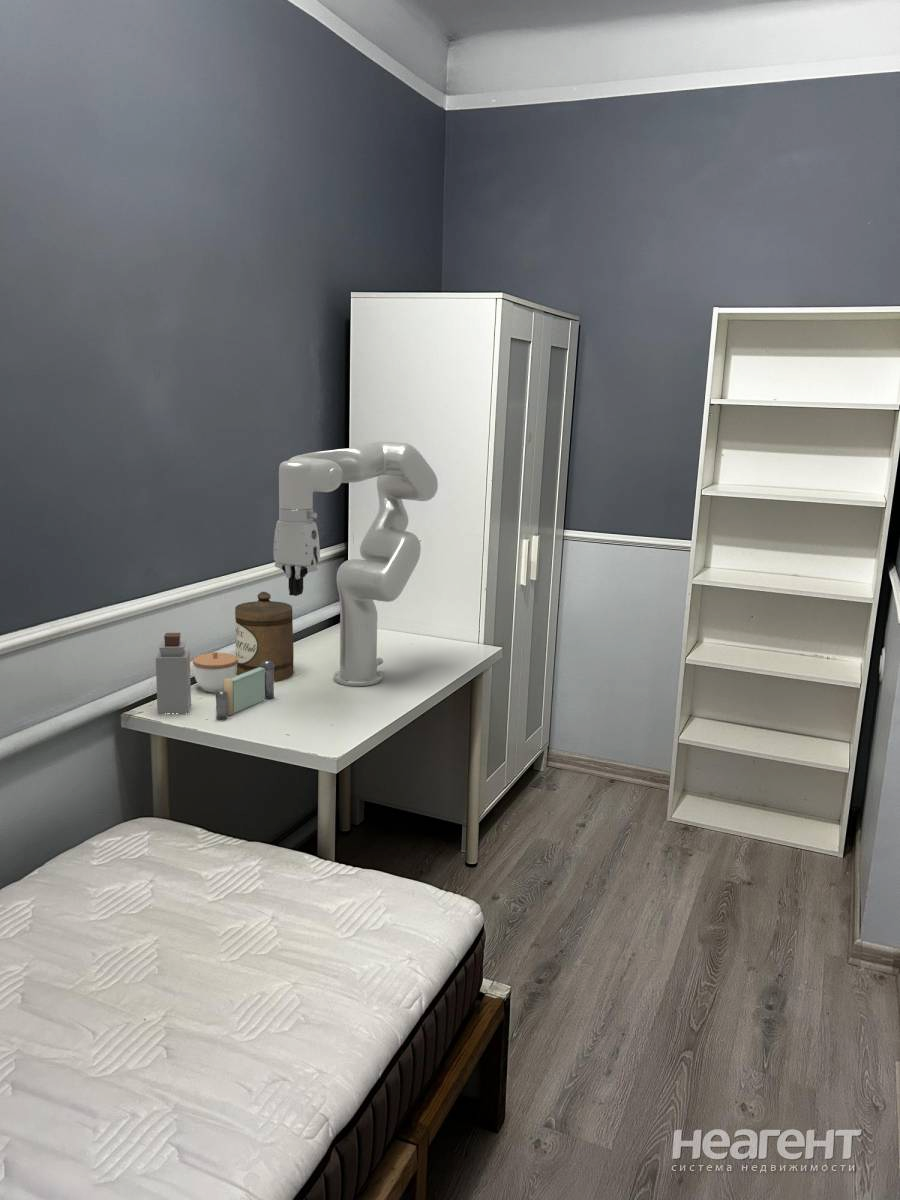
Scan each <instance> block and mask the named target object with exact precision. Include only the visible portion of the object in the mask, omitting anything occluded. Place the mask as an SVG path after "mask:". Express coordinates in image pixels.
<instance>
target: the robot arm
mask: <svg viewBox="0 0 900 1200" xmlns="http://www.w3.org/2000/svg"><path fill="white" fill-rule="evenodd" d="M437 477H438V476H437V475H436V472H435V471H434V469H433V467H431V465H430V464H429V463H428V461H427V460H426V459H425V457H424V456H423V455H422V454H421V453H420V451H419V450H418V449H417V448H415V447H414V446H413V445H412V444H409V443H407V442H406V443H405V442H394V441H381V440H380V441H373V442H368V443H366V444H362V445H357V446H353V447H349V448H338V449H332V450H323V451H314V452H313V451H312V452H308V453H303V454H298V455H294V456H293V457H291V458H290V459H288V460H284V461H282V462H281V463H280V464H279V468H278V504H279V505H278V506H279V507H278V516H279V517H278V520H277V521H276V526H275V530H274V537H273V538H274V539H273V560H274V562H275V563H274V566H275V568H277V569H280V570H282V571H283V572H284V574H285V577H286V578H287V579H288V592H289V594H288V595H289V596H295V597H297V596H300V595H303V592H304V578H306V576H307V574H308V573H314V572H316V571H318V565H317V564H319V563H320V561H321V560H320V559H321V552H320V551H321V550H320V549H321V548H320V539H319V538H320V537H319V531H318V530H319V529H318V526H317V522H315V521H314V519H315V520H316V519H317V518H318V513H317V512H315V511H314V509H313V508H314V507H313V504H314V503H313V498H314V497H313V496H314V495H313V494H314V492H319V493H331V492H333V491H335V490H337V489H338V488H339V487H340V485H341V484H349V483H350V484H351V483H359V482H363V481H366V480H367V481H368V480H369V479H373V478H376V488H377V489H376V490H377V495H378V504H379V505H378V512H377V514H376V517H375V518H374V520H373V522H372V523H371V525H370V527H369V528H368V530H367V531H366V534H365V535H364V538H363V539H362V541H361V543H360V547H359V552H360V556H361V557H362V559H360V558H359V559H358V558H356V559H355V558H354V559H348V560H345V561H344V562H342V563H341V564H340V566H339V567H338V569H337V572H336V586H337V591H338V596H339V597H338V598H339V606H340V608H339V609H340V619H339V621H340V622H339V670H337V671H336V672H334V673H333V680H334V681H335V682H336V683H338V684H341V685H345V686H349V687H365V686H366V687H367V686H374V685H377V684H378V683H380V682H381V681H382V680H383V674H382V672H381V671H378V666H381V665H383V663H384V660H383V658H382V657H377V655H378V652H377V651H378V618H379V617H378V611H377V607H376V605H375V602H374V601H378V602H384V603H389V602H393V601H395V600H397V599H398V598H399V597H400V595H401V594H402V592H403V590H404V589H405V587H406V585H407V583H408V582H409V579H410V578H411V576H412V574H413V572H414V570H415V568H416V567H417V564H418V563H419V560H420V556H421V551H422V550H421V549H422V548H421V541H420V538H418V536H417V535H416V534H414V532H413V533H412V532H410V531H407V530H406V529H407V528H408V525H409V516H408V512H407V510H406V508H405V505H404V503H403V500H409V501H417V502H427V501H430V500H432V499H433V498H434V497H435V496H436V494H437V493H438V487H439V485H438V484H439V482H438V478H437Z"/></svg>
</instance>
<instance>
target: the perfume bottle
mask: <svg viewBox="0 0 900 1200" xmlns="http://www.w3.org/2000/svg"><path fill="white" fill-rule="evenodd" d="M163 638H164V639H163V640H162V641H161V642H160V644H159V647H158V649H159V650H158V652H157V654H156V656H155V674H156V675H155V676H156V678H155V679H156V703H157V704H156V705H157V710H156V711H157V715H158V714H165V713H166V714H167V713H170V714H172V713H174V714H176V713H178V714H179V715H189V714H190V710H191V707H190V706H192V692H191V691H192V689H191V686H192V685H191V651H190V649H188V648H187V649H185V648H186V643H187V640H181V632H166V633H165V634H164V636H163ZM189 709H190V710H189ZM186 713H187V714H186ZM188 713H189V714H188Z"/></svg>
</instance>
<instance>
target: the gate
mask: <svg viewBox="0 0 900 1200" xmlns="http://www.w3.org/2000/svg"><path fill="white" fill-rule="evenodd" d="M223 682H224V691H225V692H226V693H227V716H232V715H233V714H236V713H237V712H240V711H242V710H245V709H247V708H249V707H251V706H253V705H256V704H257V703H260V702H263V701H264V700H265V668H261V667H258V668H256V669H253V670H251V671H248V672H246V673H243V674H241V675H238V676H237V675H236V676H235V677H233V678H226V679H224V680H223ZM265 701H266V700H265Z"/></svg>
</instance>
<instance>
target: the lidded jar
mask: <svg viewBox="0 0 900 1200" xmlns="http://www.w3.org/2000/svg"><path fill="white" fill-rule="evenodd" d="M237 662H238V659H237V657H236V655H234V654H232V653H227V652H218V651H213V652H208V653H203V654H199V655H197V656H194V658H193V659H192V664H193V673H194V678H195V679H194V680H196V682H197V684H198V686H200V687H201V688H202V690H203V689H204V690H205V692H207V691H208V692H207V693H217V692H218V691H224V682H223V680H224V679H226V678H233V677H235V676H237V675H236V674H237ZM204 690H203V691H204Z"/></svg>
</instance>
